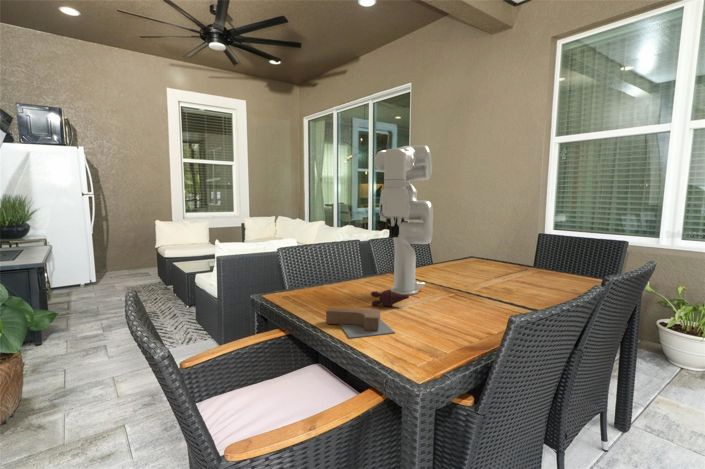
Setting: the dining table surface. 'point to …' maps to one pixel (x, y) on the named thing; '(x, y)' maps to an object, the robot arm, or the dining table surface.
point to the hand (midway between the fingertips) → (394, 236)
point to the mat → (359, 331)
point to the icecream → (387, 298)
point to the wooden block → (354, 317)
